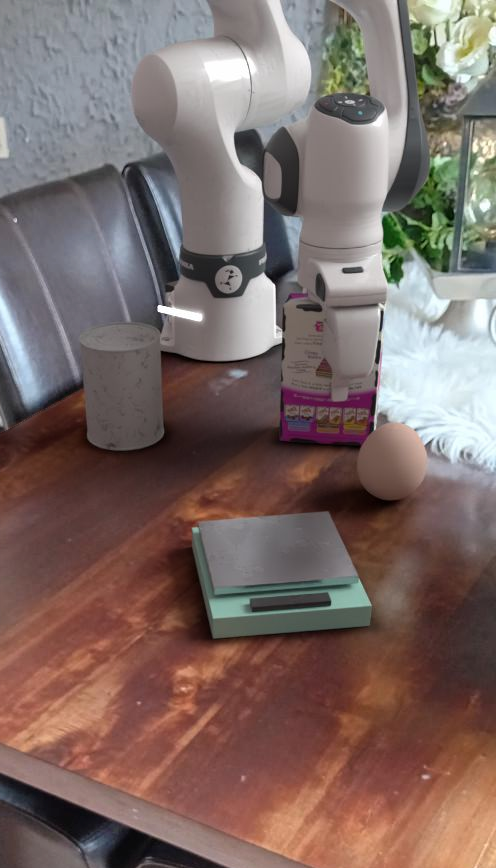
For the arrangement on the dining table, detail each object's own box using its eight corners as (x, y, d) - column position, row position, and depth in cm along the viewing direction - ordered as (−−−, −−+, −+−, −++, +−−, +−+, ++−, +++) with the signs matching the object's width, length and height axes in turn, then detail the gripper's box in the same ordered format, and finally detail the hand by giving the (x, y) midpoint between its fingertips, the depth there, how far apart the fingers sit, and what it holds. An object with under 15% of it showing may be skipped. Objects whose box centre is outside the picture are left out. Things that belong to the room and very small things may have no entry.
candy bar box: (376, 430, 121) (389, 293, 111) (372, 448, 117) (386, 308, 107) (283, 424, 124) (289, 289, 114) (277, 441, 120) (282, 304, 110)
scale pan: (197, 528, 99) (197, 521, 99) (328, 518, 99) (328, 510, 99) (213, 595, 89) (213, 587, 89) (358, 583, 90) (358, 576, 89)
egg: (429, 511, 105) (439, 437, 100) (360, 514, 105) (366, 440, 100) (414, 480, 110) (423, 408, 105) (349, 482, 111) (355, 411, 106)
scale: (192, 546, 101) (191, 522, 100) (329, 535, 102) (330, 511, 100) (212, 638, 88) (212, 612, 87) (369, 626, 89) (372, 599, 87)
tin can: (116, 458, 118) (109, 356, 111) (72, 432, 125) (63, 335, 118) (179, 434, 123) (177, 335, 116) (133, 411, 129) (128, 316, 122)
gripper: (291, 242, 117) (286, 357, 125) (331, 296, 100) (322, 424, 109) (344, 238, 117) (336, 353, 125) (393, 291, 101) (380, 420, 109)
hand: (330, 387), depth 117 cm, fingers closed on candy bar box, 6 cm apart
